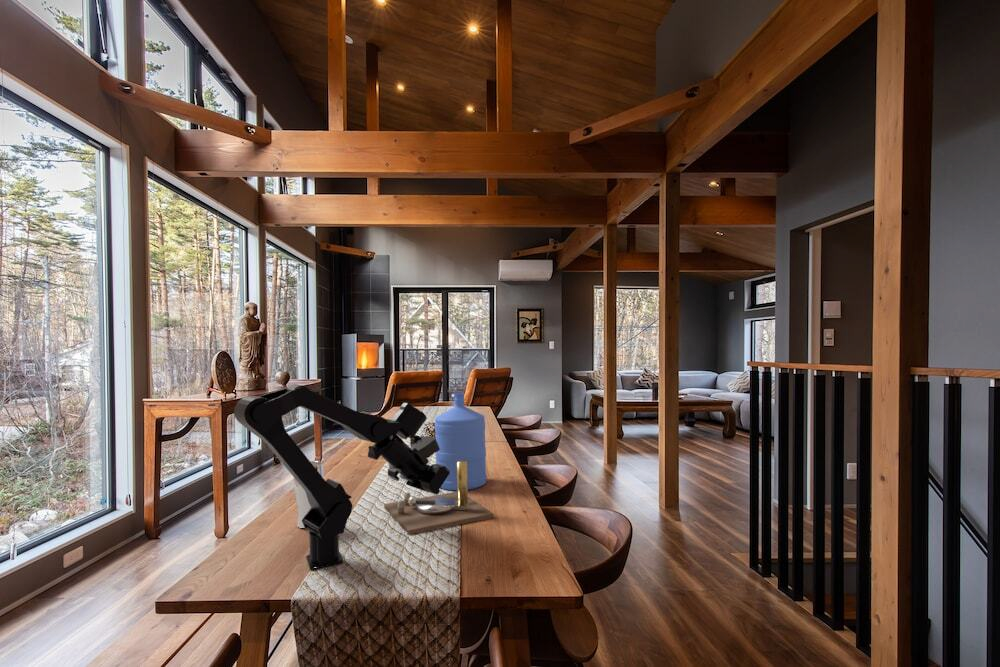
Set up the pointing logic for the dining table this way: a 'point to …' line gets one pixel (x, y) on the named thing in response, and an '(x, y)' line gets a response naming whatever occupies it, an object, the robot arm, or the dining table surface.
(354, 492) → the dining table surface
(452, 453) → the water jug
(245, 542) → the dining table surface
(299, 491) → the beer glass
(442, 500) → the dial
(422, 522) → the walnut board
